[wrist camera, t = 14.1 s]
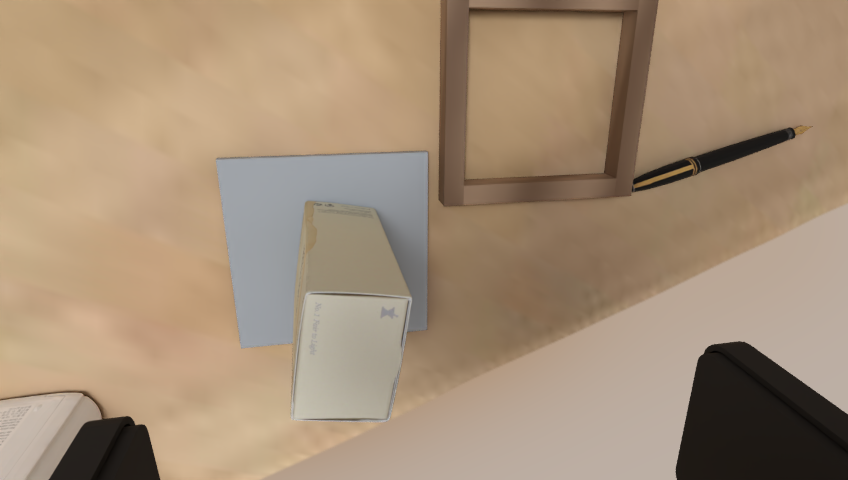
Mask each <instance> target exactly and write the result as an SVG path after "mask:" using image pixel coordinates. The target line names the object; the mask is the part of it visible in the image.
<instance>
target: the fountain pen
mask: <svg viewBox="0 0 848 480" xmlns="http://www.w3.org/2000/svg"><path fill="white" fill-rule="evenodd" d="M811 127H813V126H811ZM811 127H807V126H800V127H797V128H795V129H793V128H788V129H784V130H781V131H777V132H774V133H770V134H767V135H763V136H760V137H757V138H753V139H750V140H747V141H743V142H740V143H737V144H734V145H730V146H727V147H724V148H721V149H718V150H715V151H712V152H709V153H706V154H703V155H700V156H697V157H690V158H687V159H684V160H681V161H678V162H675V163H673V164H670V165H667V166H664V167H662V168H659V169H657V170H654V171H651V172H649V173H646V174H644V175H642V176H640V177H638V178H636V179H634V180H633V185H632V192H635V191H641V190H646V189H651V188H654V187H658V186H661V185H665V184H669V183H672V182H675V181H678V180H681V179H684V178H687V177H690V176H694V175H697V174H698V173H700V172H702V171H705V170H707V169H710V168H713V167H716V166H719V165H722V164H725V163H728V162H731V161H734V160H736V159H739V158H742V157H744V156H747V155H750V154H753V153H755V152H758V151H761V150H763V149H766V148H769V147H771V146H774V145H776V144H779V143H782V142H784V141H787V140H790V139H793V138H795V135H798V134H802V133H803V132H805V131H806V130H808V129H809V128H811Z"/></svg>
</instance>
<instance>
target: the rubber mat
mask: <svg viewBox="0 0 848 480" xmlns="http://www.w3.org/2000/svg"><path fill="white" fill-rule="evenodd" d="M216 164H217V172H218V179H219V186H220V194H221V201H222V209H223V216H224V224H225V231H226V239H227V246H228V254H229V261H230V269H231V276H232V284H233V291H234V299H235V306H236V314H237V321H238V329H239V336H240V344H241V348H249V347H259V346H269V345H279V344H290V343H293V320H294V294H295V282H296V272H297V263H298V253H299V245H300V237H301V229H302V221H303V214H304V207H305V202H306V201H316V202H328V203H338V204H346V205H354V206H362V207H368V208H374V209H375V210H376V212H377V215H378V217H379V219H380V222H381V224H382V227H383V229H384V231H385V234H386V236H387V239H388V241H389V244H390V246H391V249H392V251H393V253H394V256H395V258H396V260H397V263H398V265H399V268H400V270H401V273H402V275H403V277H404V280H405V282H406V284H407V287H408V289H409V291H410V294H411V296H412V304H411V310H410V317H409V323H408V329H407V332H410V331H420V330H427V261H428V152H427V151H406V152H377V153H348V154H319V155H290V156H261V157H233V158H217V159H216Z"/></svg>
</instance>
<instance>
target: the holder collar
mask: <svg viewBox="0 0 848 480" xmlns="http://www.w3.org/2000/svg"><path fill="white" fill-rule="evenodd" d="M657 7H658V0H441V38H440V123H439V201H440V202H441V203H442V204H443V205H444V206H457V205H475V204H493V203H511V202H529V201H547V200H566V199H584V198H602V197H620V196H631V192H632V185H633V178H634V171H635V164H636V157H637V149H638V142H639V135H640V128H641V121H642V114H643V107H644V100H645V92H646V85H647V78H648V71H649V64H650V57H651V50H652V42H653V35H654V28H655V21H656V14H657ZM469 9H485V10H544V11H603V12H624V13H623V22H622V30H621V38H620V47H619V55H618V63H617V72H616V80H615V88H614V97H613V105H612V113H611V121H610V130H609V138H608V146H607V155H606V163H605V171H604V173H601V174H579V175H558V176H536V177H514V178H492V179H470V180H464V168H465V133H466V97H467V62H468V27H469Z"/></svg>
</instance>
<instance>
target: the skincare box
mask: <svg viewBox="0 0 848 480" xmlns="http://www.w3.org/2000/svg"><path fill="white" fill-rule="evenodd" d="M411 304H412V296H411V294H410V291H409V289H408V287H407V284H406V282H405V280H404V277H403V275H402V273H401V270H400V268H399V265H398V263H397V260H396V258H395V256H394V253H393V251H392V249H391V246H390V244H389V241H388V239H387V236H386V234H385V231H384V229H383V227H382V224H381V222H380V219H379V217H378V215H377V212H376V210H375V209H374V208H368V207H362V206H354V205H346V204H338V203H328V202H316V201H306V202H305V207H304V214H303V221H302V229H301V237H300V245H299V253H298V263H297V272H296V282H295V294H294V320H293V354H292V391H291V419H292V420H302V421H335V422H387V421H388V420H389V419H390V417H391V412H392V408H393V403H394V399H395V394H396V389H397V384H398V379H399V374H400V370H401V365H402V359H403V353H404V347H405V341H406V335H407V329H408V323H409V317H410V310H411Z"/></svg>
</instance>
